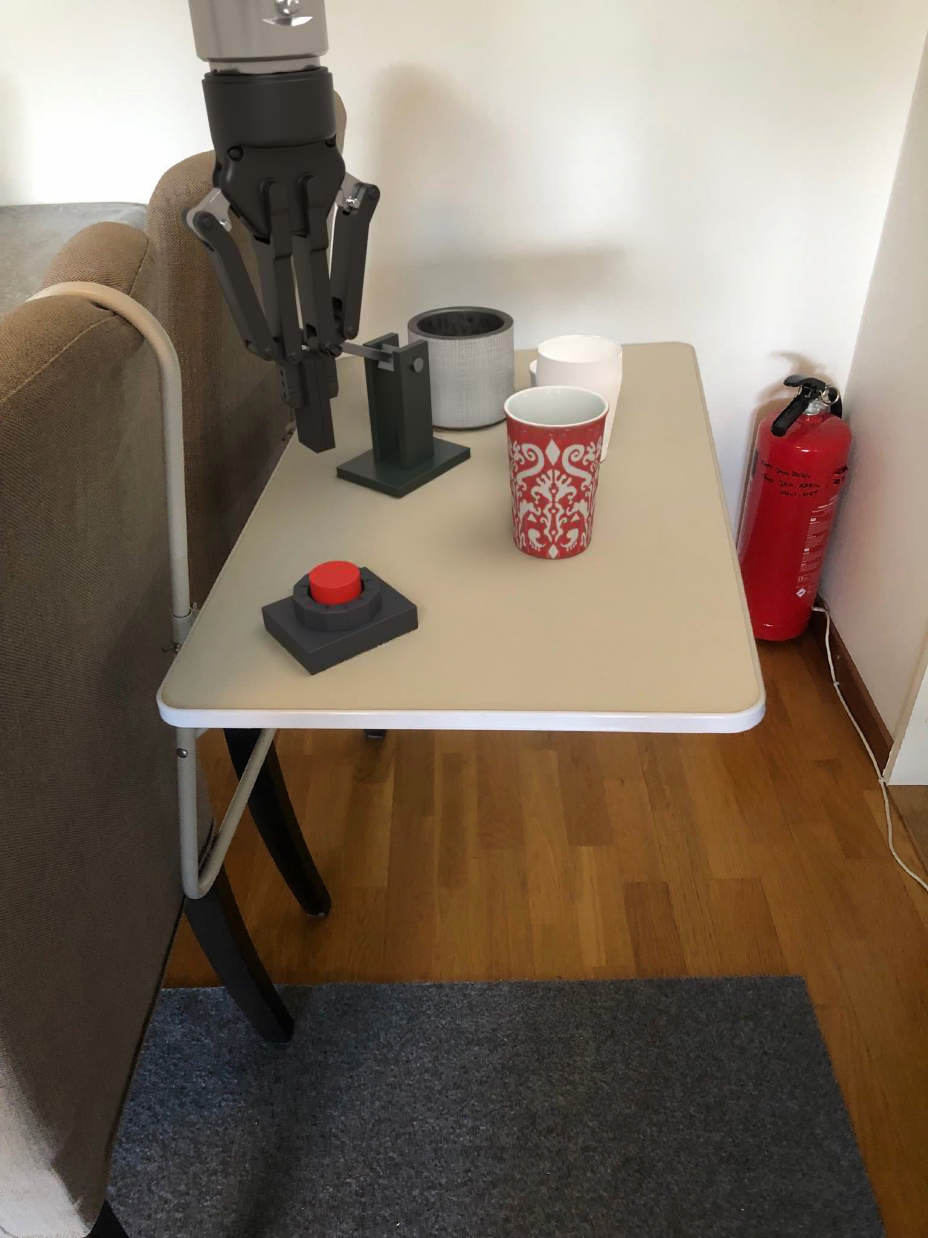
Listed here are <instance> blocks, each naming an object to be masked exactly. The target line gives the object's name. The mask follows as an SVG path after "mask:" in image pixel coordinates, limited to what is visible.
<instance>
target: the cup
mask: <svg viewBox="0 0 928 1238" xmlns="http://www.w3.org/2000/svg"><path fill="white" fill-rule="evenodd" d="M536 352H537V353H536V354H537V355H536V360H537V366H536V386H537V387H541V386H573V387H579V388H584V389H588V390H591V391H594V392H596V393H598V394H600V395H602V396H603V397H604V398H605V399H606V400H607V401H608V403H609V407H610V408H609V412H608V414H607V416H606V420H605V428H604V436H603V445H602V453H601V459H600V463H601V462H603V461H604V460H605V459H606V458H607V457H606V456H607V452H608V447H609V444H610V438H611V434H612V430H613V429H612V428H613V424H614V419H615V415H616V410H617V404H618V401H619V396H620V390H621V386H622V381H623V346H622V345H621V344H620V343H619V342H618V341H616V340H613V339H611V338H607V337H604V336H600V335H599V336H598V335H591V334H589V335H588V334H570V335H567V334H566V335H560V336H556V337H552V338H548V339H547V340H544V341H542V342H541V343H540V344H538V346H537V351H536Z"/></svg>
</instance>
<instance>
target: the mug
mask: <svg viewBox="0 0 928 1238" xmlns="http://www.w3.org/2000/svg"><path fill="white" fill-rule="evenodd" d="M503 408H504V413H505V415H506V418H505V422H506V423H505V424H506V438H507V439H506V440H507V456H508V471H509V487H510V502H511V516H512V537H513V542H514V544H515V545H516V547H517V548H518V549H519V550H520V551H522V552H523V553H525V554H527V555H529V556H533V557H536V558H539V559H540V558H541V559H548V560H560V559H561V560H562V559H567V558H571V557H574V556H577V555H579V554H581V553H583V552H584V551H585V550H587V548H588V547H589V546H590V544H591V540H592V534H593V524H594V514H595V506H596V499H597V491H598V486H599V485H598V484H599V474H600V469H601V468H600V467H601V462H600V459H601V453H602V445H603V436H604V428H605V420H606V416H607V414H608V412H609V408H610V407H609V403H608V401H607V400H606V399H605V398H604V397H603V396H602V395H600V394H598V393H596V392H594V391H591V390H588V389H584V388H579V387H573V386H541V387H534V388H532V387H528V388H525V389H522V390H519V391H517V392H515V394H513V395H511V396H510V397H509V398H508V399H507V400H506V401H505V403H504V406H503Z"/></svg>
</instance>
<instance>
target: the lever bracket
mask: <svg viewBox="0 0 928 1238" xmlns="http://www.w3.org/2000/svg"><path fill="white" fill-rule="evenodd" d="M382 344H386V345H391V346H395V347H399V349H396V350H394V351H392V355H393V368H394V372H393V371H389V370H385V369H381V368H378V363H379V361H378V360H374V359H369V358H365V357H363V366H364V373H365V374H364V376H365V386H366V394H367V395H366V396H367V406H368V415H369V426H370V435H371V445H372V448H371V449H368V450H366V451H365V452H362V453H361V454H358V455H357V456H355V457H353V458H350V459H349V460H346V461H345V462H343V463H341V464H340V465H337V466H335V470H336V477H337V478H340V479H342V480H345V481H348V482H350V483H354V484H355V485H359V486H361V487H365V488H367V489H371V490H373V491H377V492H379V493H382V494H385V495H387V496H390V497H393V498H395V499H402V498H403V497H405V496H407V495H409V494H410V493H411V492H413V491H415V490H417V489H418V488H420V487H422V486H424V485H426V484H427V483H429V482H431V481H433V480H435V479H436V478H438V477H439V476H441V475H443V474H444V473H446V472H448V471H450V470H451V469H453V468H455V467H457V466H458V465H460V464H462V463H464V462H465V461H467V460H468V459H470V458H471V457H472V456H471V447H469V446H466V445H463V444H459V443H456V442H453V441H449V440H446V439H442V438H438V437H435V436H434V426H433V423H432V405H431V387H430V369H429V351H428V341H427V340H423V339H420V340H417V341H415V342H413V343H410V344H406V345H403V346H400V337H399V333H397V332H392V331H391V332H388V333H386V334H383V335H380V336H378V337H376V338H373V339H371V340H368V341H366V342H364V343H362V346H365V347H369V348H373V349H377V350H381V348H382Z"/></svg>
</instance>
